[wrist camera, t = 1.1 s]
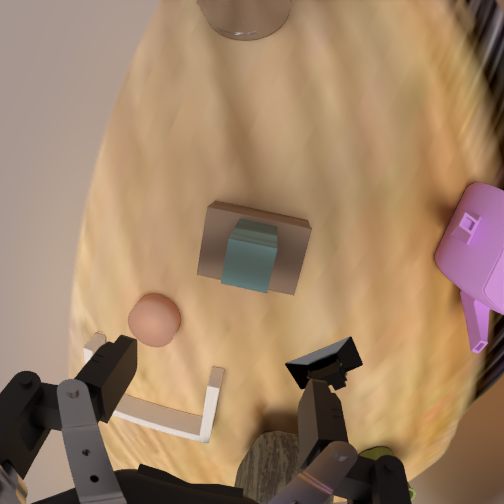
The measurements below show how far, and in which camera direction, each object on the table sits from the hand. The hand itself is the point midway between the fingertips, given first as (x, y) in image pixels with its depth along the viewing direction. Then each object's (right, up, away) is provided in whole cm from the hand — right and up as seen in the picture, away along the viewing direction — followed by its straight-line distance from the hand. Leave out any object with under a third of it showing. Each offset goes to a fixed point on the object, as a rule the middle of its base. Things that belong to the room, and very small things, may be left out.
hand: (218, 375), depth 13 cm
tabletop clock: (+6, -23, +30) cm, 39 cm away
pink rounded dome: (-10, -2, +25) cm, 27 cm away
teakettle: (+30, +7, +19) cm, 36 cm away
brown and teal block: (+2, +7, +21) cm, 22 cm away
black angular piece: (+11, -9, +26) cm, 30 cm away
